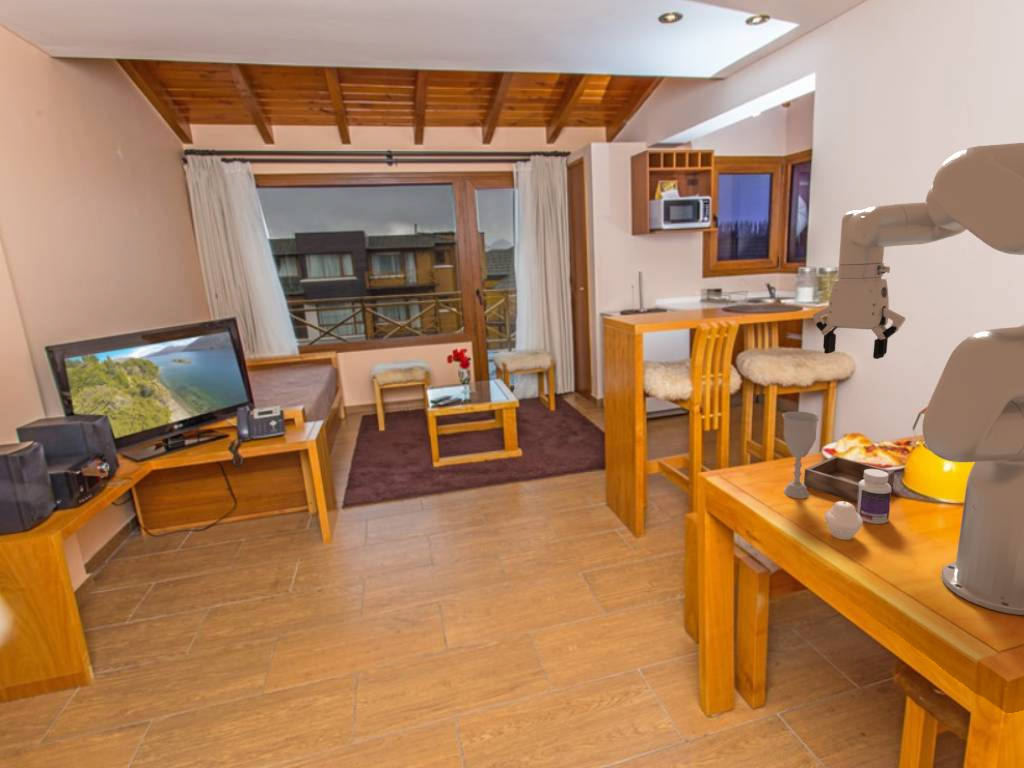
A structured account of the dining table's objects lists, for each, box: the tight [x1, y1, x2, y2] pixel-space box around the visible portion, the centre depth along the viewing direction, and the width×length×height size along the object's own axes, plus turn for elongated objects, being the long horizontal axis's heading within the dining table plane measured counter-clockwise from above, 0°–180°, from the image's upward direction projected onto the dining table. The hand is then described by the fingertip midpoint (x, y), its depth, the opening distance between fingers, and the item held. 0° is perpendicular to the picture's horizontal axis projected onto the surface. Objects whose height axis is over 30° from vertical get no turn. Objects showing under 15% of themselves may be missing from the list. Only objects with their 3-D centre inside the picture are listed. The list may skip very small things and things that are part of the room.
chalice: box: [781, 411, 821, 499], centre depth 116 cm, size 7×7×18 cm
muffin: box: [824, 500, 864, 541], centre depth 100 cm, size 6×6×7 cm
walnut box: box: [803, 455, 896, 504], centre depth 119 cm, size 13×13×4 cm
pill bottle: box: [855, 469, 892, 525], centre depth 105 cm, size 5×5×10 cm
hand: (853, 355), depth 112 cm, fingers open, 9 cm apart
